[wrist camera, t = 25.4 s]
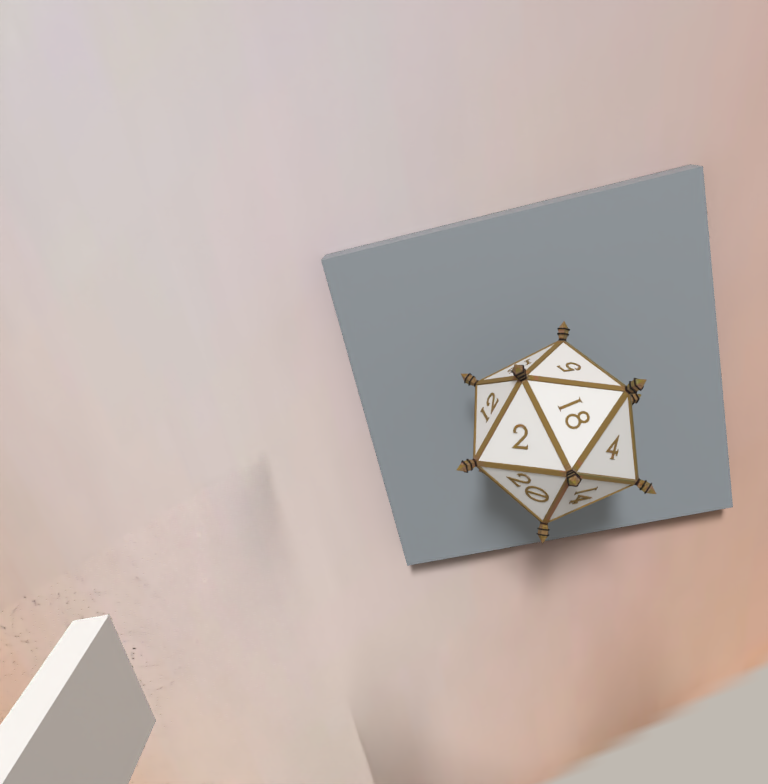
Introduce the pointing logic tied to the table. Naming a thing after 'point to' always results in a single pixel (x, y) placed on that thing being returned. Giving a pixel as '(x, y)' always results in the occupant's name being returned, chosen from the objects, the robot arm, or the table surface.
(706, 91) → the table surface
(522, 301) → the board
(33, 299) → the table surface
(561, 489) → the game die
